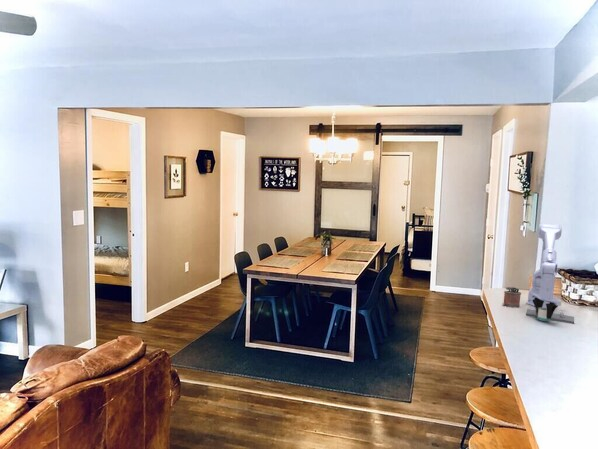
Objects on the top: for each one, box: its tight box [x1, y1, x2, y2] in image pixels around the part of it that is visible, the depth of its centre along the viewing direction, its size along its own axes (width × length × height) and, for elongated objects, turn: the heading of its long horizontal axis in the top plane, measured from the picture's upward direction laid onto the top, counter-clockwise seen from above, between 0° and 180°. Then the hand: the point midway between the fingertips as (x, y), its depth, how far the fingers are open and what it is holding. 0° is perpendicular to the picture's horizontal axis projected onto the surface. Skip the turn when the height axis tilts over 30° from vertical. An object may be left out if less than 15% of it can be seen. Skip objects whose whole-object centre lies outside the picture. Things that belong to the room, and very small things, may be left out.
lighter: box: [502, 286, 522, 308], centre depth 237 cm, size 8×3×10 cm, turn 84°
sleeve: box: [536, 307, 551, 322], centre depth 216 cm, size 5×5×5 cm
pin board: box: [525, 308, 575, 324], centre depth 222 cm, size 20×9×5 cm, turn 60°
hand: (543, 316), depth 216 cm, fingers closed on sleeve, 5 cm apart
